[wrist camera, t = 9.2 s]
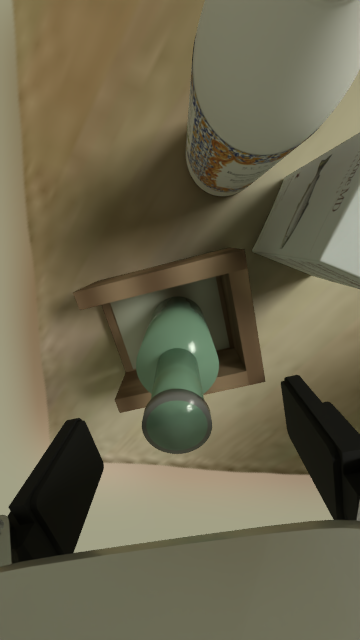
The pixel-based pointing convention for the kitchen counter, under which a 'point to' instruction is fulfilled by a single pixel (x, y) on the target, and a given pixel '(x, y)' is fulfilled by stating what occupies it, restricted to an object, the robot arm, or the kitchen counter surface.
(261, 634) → the robot arm
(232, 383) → the walnut U-rest
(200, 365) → the green bottle
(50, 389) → the kitchen counter surface
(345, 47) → the bath foam
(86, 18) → the kitchen counter surface
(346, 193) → the supplement box
